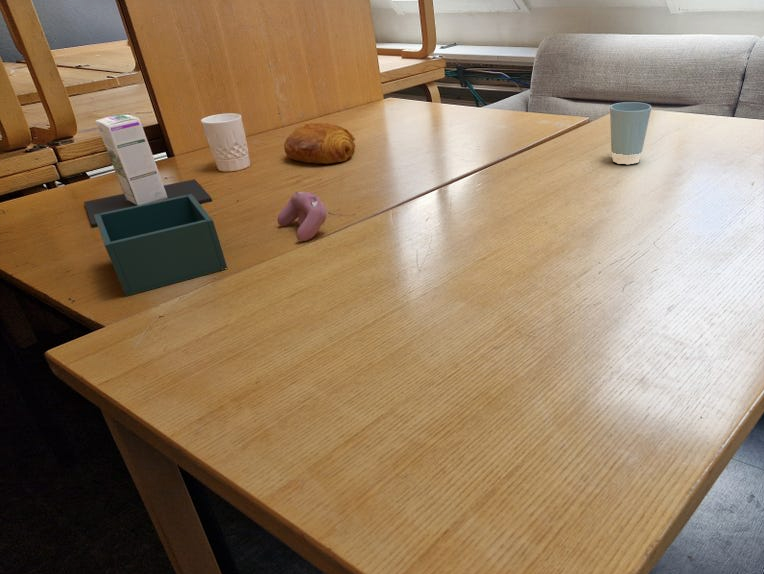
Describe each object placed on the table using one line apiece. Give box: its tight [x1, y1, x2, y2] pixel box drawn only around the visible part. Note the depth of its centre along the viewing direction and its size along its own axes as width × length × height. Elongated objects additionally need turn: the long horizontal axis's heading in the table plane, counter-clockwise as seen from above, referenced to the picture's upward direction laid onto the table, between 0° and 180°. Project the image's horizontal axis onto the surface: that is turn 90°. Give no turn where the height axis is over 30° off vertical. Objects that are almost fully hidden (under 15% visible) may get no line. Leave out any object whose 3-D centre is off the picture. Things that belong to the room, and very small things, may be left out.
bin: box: [94, 194, 228, 297], centre depth 89 cm, size 14×14×8 cm
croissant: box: [283, 122, 356, 165], centre depth 133 cm, size 14×16×8 cm
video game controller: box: [277, 190, 328, 243], centre depth 99 cm, size 10×5×7 cm, turn 35°
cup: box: [609, 101, 652, 155], centre depth 120 cm, size 8×8×10 cm
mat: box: [83, 178, 213, 228], centre depth 114 cm, size 20×14×1 cm
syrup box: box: [95, 113, 168, 205], centre depth 110 cm, size 6×6×14 cm
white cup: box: [200, 113, 252, 173], centre depth 128 cm, size 8×8×10 cm
